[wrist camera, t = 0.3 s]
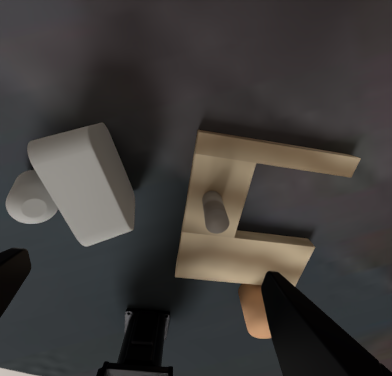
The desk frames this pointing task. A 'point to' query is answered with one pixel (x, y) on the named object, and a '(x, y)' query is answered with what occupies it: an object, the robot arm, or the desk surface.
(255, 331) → the tan rounded cone
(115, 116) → the desk surface
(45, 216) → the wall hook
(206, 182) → the pale wood u-shaped block
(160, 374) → the robot arm
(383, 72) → the desk surface
